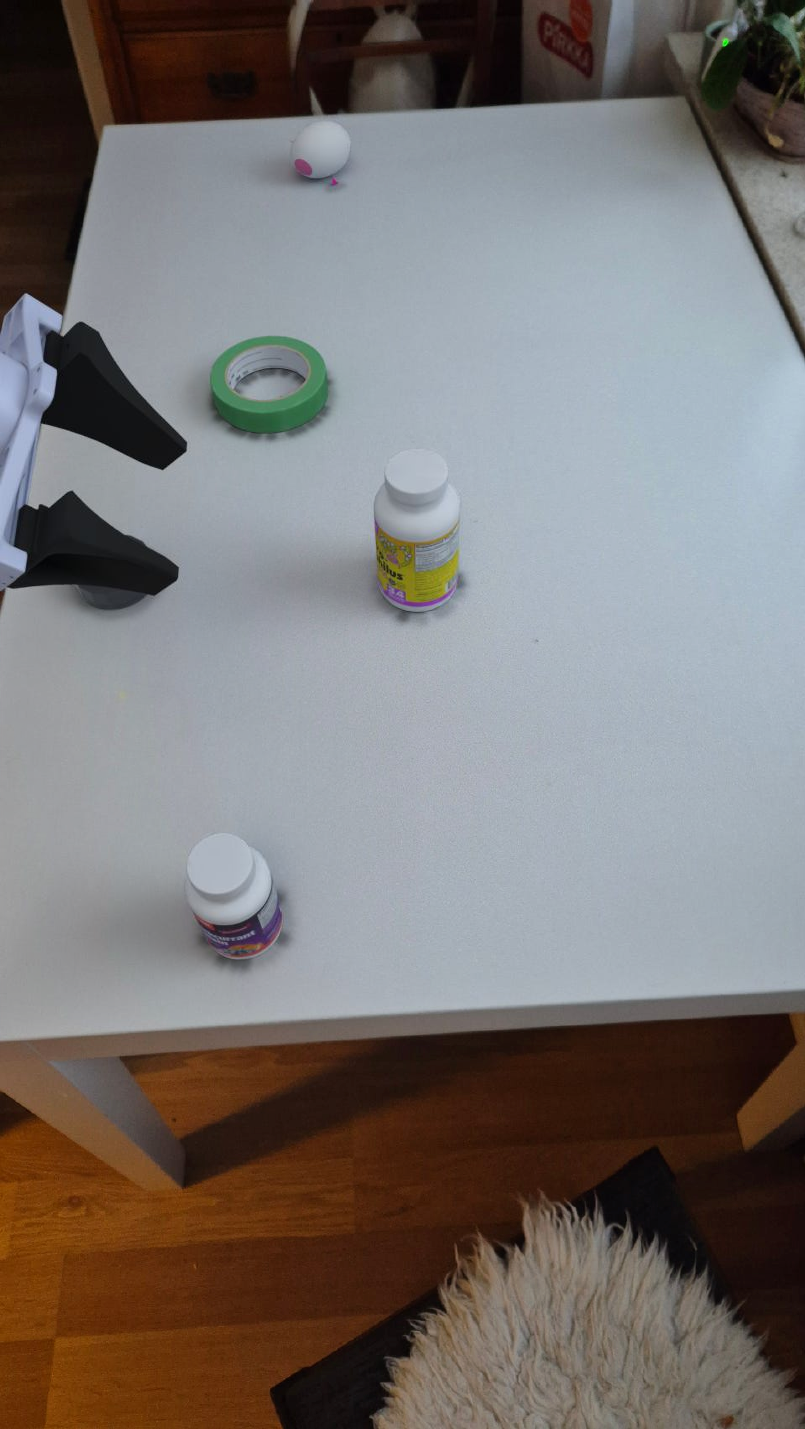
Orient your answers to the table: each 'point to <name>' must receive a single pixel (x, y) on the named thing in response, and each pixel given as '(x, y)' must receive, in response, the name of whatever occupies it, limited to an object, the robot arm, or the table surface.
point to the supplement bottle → (417, 531)
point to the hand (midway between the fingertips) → (171, 516)
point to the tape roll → (276, 411)
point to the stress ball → (320, 150)
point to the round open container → (110, 594)
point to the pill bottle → (233, 896)
